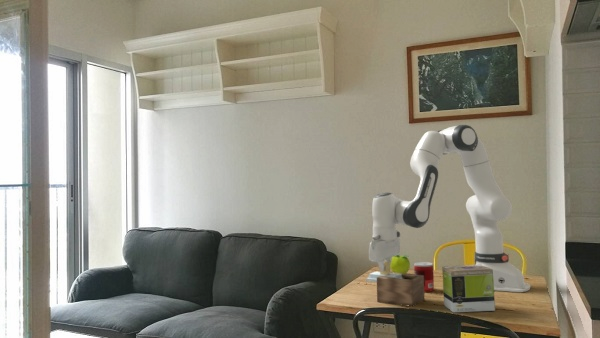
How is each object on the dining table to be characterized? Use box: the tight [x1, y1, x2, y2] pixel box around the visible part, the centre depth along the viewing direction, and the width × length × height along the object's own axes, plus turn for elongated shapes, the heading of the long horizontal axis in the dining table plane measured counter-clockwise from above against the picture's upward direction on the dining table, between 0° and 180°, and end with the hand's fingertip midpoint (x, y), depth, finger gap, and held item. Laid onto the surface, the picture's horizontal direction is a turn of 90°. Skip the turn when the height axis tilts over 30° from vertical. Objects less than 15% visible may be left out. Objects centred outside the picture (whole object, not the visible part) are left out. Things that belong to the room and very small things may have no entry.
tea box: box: [441, 264, 496, 313], centre depth 174 cm, size 15×10×15 cm
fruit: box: [390, 253, 411, 274], centre depth 236 cm, size 9×9×10 cm
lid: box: [366, 261, 405, 283], centre depth 191 cm, size 12×9×7 cm
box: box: [376, 271, 425, 307], centre depth 187 cm, size 14×12×9 cm
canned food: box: [413, 261, 435, 293], centre depth 203 cm, size 8×8×11 cm
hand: (385, 269), depth 191 cm, fingers closed on lid, 3 cm apart
